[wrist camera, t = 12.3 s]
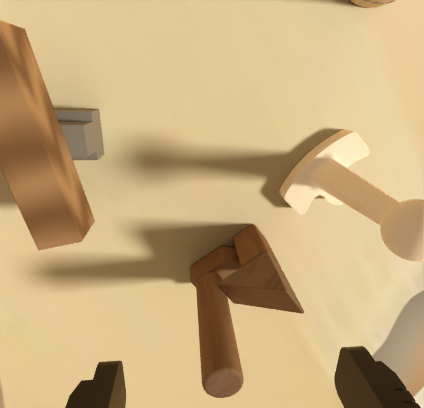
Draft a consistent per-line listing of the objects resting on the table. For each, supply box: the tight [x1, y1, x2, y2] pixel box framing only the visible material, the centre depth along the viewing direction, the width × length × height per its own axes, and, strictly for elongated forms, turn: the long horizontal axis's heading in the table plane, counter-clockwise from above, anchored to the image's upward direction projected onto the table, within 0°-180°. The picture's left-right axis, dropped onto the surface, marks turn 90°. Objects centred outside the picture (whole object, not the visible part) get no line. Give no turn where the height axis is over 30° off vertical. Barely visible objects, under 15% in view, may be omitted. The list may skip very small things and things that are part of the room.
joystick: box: [279, 130, 424, 262], centre depth 30 cm, size 11×8×20 cm
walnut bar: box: [0, 21, 95, 250], centre depth 27 cm, size 18×4×4 cm, turn 10°
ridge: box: [54, 109, 104, 160], centre depth 31 cm, size 5×8×6 cm, turn 89°
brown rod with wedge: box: [190, 224, 304, 398], centre depth 34 cm, size 4×11×18 cm, turn 125°
